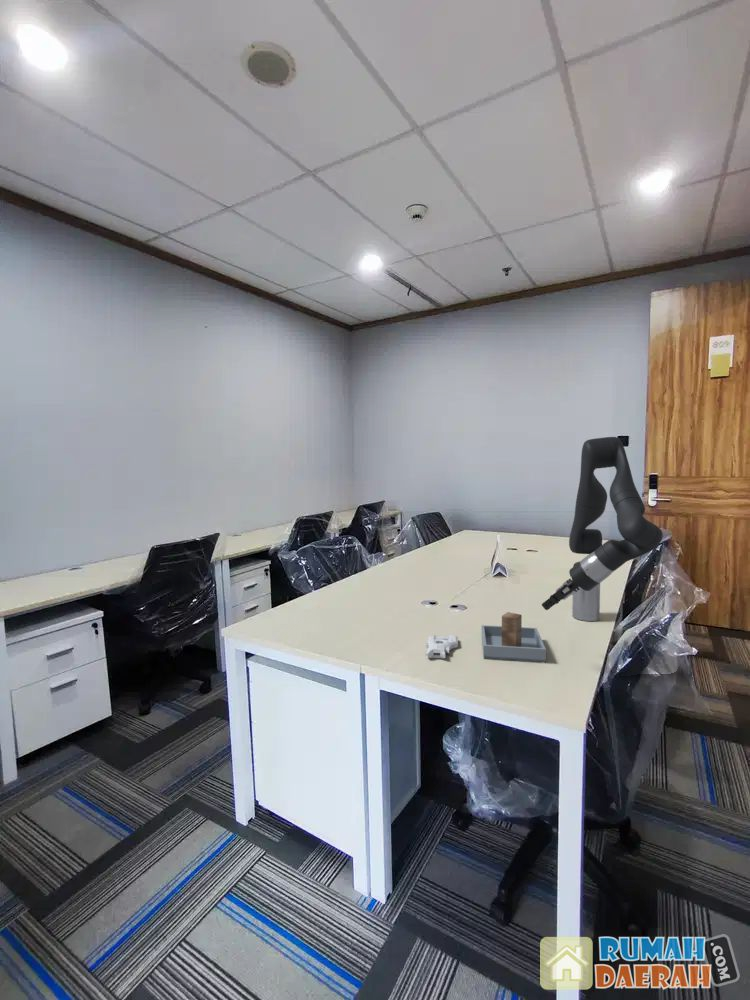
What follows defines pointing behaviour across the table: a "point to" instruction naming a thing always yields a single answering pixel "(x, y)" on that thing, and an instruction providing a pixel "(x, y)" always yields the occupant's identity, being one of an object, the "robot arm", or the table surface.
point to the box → (528, 651)
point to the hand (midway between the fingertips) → (549, 603)
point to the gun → (440, 646)
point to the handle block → (511, 629)
